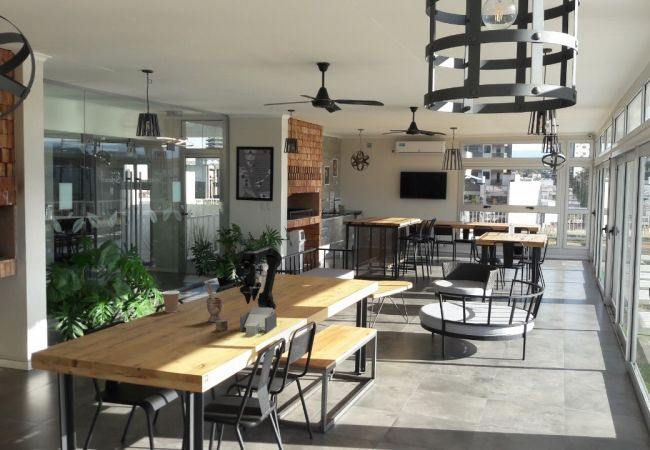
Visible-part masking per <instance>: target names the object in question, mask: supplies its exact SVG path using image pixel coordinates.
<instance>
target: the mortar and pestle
mask: <svg viewBox="0 0 650 450" xmlns="http://www.w3.org/2000/svg"><path fill="white" fill-rule="evenodd" d="M205 290H206V291H207V294H208V296H209V298H206V308H207V312H208V314H210V317H208V320H207V321H208V322H210V323H216V321H218V320H222V318H221V316H220V313H221V311H222V306H223V301H222V300H223V298H222V297H214V294H213V290H212V287H211V286H210V285H207V286H205Z"/></svg>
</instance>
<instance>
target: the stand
mask: <svg viewBox="0 0 650 450" xmlns="http://www.w3.org/2000/svg"><path fill="white" fill-rule="evenodd" d="M227 329H228V320H226V319H221V320H218V321H216V322H215V331H218V330H220V331H219V332H224V331H223V330H225V331H228V330H227Z"/></svg>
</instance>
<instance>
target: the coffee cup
mask: <svg viewBox="0 0 650 450" xmlns="http://www.w3.org/2000/svg"><path fill="white" fill-rule="evenodd" d="M162 296H163V303H164V304H163V305H164V310H165V312H166V313H176V312H178V309H179V307H178V306H179V298H180V297H179V296H180V291H178V290H166V291H162Z"/></svg>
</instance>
